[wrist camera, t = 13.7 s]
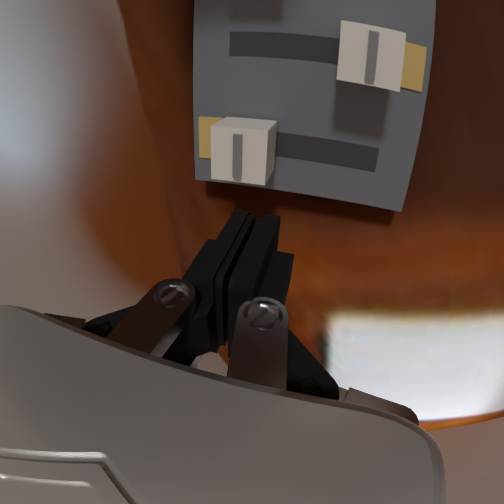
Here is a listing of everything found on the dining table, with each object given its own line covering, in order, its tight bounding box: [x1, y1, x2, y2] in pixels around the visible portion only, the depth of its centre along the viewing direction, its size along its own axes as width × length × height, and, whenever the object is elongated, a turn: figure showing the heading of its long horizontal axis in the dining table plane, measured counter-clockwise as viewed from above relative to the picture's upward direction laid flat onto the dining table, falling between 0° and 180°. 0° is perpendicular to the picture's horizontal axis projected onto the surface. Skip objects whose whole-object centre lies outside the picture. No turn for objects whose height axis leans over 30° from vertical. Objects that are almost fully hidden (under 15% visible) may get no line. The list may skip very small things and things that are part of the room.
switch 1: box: [211, 117, 277, 186], centre depth 23 cm, size 4×4×4 cm
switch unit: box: [193, 0, 436, 212], centre depth 20 cm, size 18×24×3 cm
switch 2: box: [336, 20, 406, 92], centre depth 17 cm, size 4×4×4 cm
